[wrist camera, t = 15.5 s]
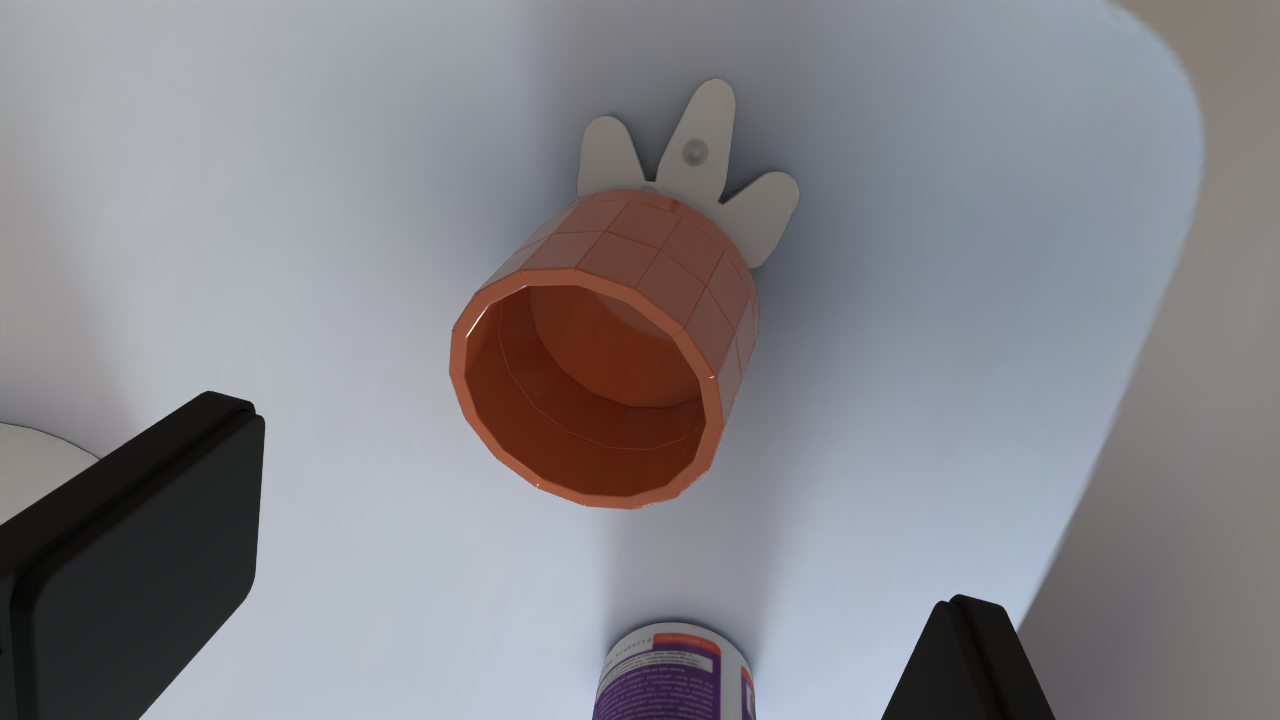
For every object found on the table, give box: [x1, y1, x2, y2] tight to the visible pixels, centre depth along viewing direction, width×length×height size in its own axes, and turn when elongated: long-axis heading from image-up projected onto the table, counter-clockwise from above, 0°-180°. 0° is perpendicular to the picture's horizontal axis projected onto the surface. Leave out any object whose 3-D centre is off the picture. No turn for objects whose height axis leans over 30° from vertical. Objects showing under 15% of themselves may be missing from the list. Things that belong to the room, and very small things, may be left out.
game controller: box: [577, 78, 800, 270], centre depth 22 cm, size 6×12×3 cm, turn 2°
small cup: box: [449, 189, 759, 510], centre depth 20 cm, size 6×6×4 cm
